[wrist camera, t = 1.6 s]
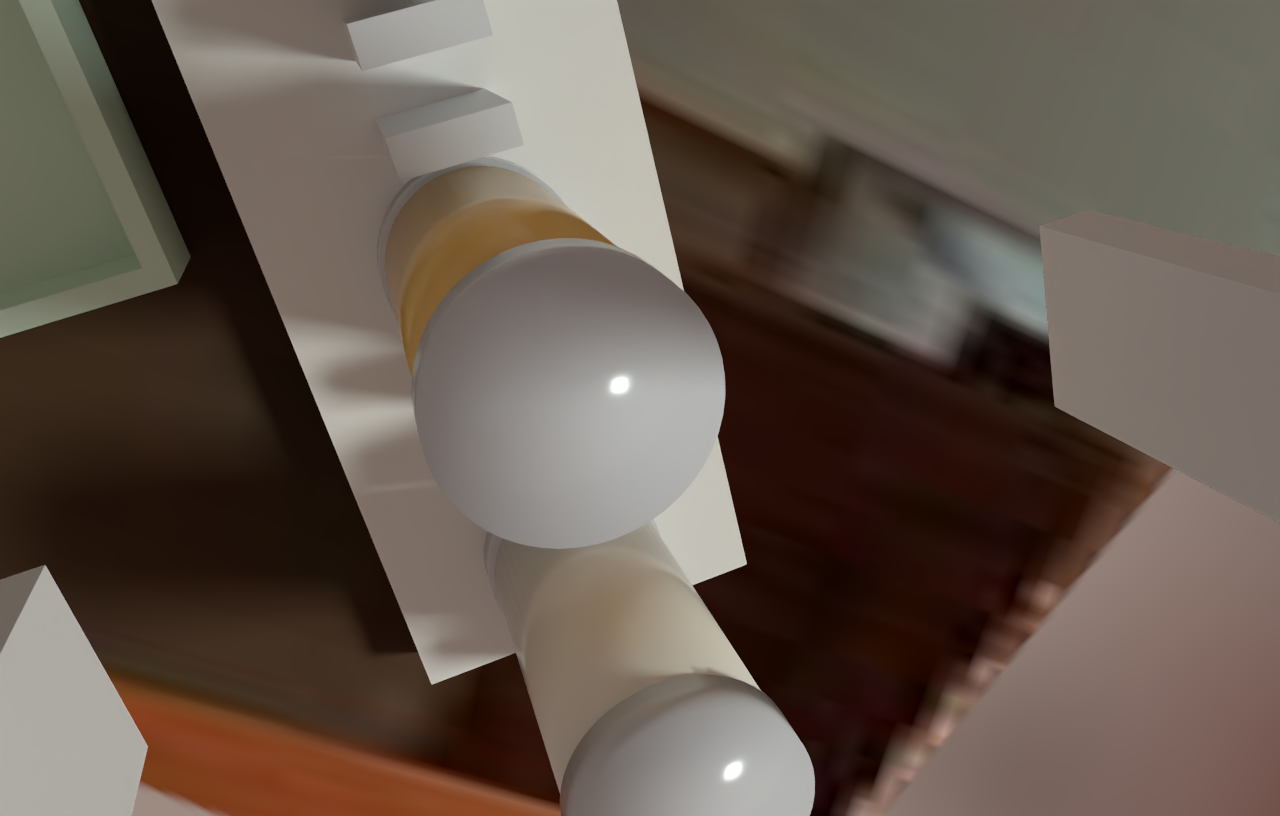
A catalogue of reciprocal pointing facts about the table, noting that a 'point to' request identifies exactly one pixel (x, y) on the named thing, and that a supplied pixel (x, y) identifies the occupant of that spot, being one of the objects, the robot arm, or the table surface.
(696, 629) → the fuse cream
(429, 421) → the fuse amber
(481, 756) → the table surface
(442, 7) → the fuse panel
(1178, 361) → the robot arm
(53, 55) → the tray
